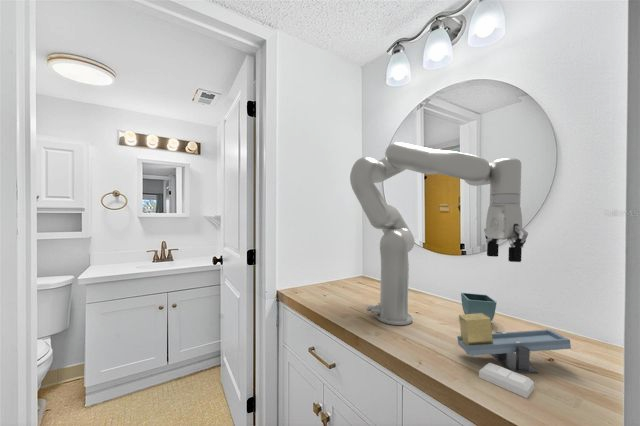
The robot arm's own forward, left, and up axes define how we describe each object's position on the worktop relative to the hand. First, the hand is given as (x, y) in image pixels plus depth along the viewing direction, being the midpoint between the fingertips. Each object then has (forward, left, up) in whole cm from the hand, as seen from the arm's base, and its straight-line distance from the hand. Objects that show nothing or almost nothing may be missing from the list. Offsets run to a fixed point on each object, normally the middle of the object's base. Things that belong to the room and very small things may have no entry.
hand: (503, 258), depth 80 cm
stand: (-4, -11, -25) cm, 27 cm away
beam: (-4, -11, -20) cm, 23 cm away
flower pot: (+1, +15, -25) cm, 29 cm away
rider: (-13, -11, -21) cm, 27 cm away
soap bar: (-11, -21, -25) cm, 34 cm away
